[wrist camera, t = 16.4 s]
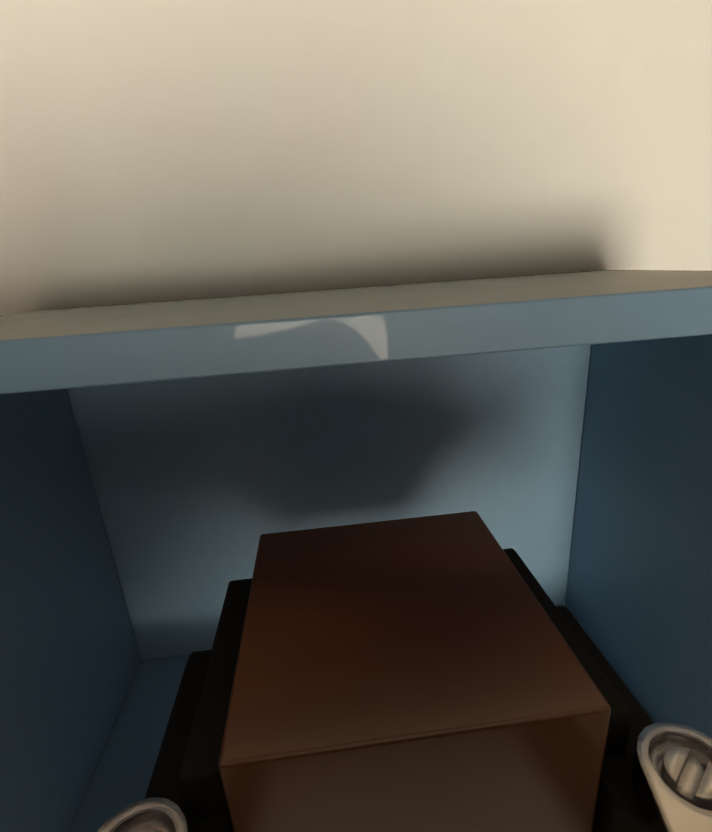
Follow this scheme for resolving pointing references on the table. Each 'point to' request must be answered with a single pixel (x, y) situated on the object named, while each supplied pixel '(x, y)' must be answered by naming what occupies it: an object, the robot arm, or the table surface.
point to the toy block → (406, 689)
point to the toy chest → (334, 485)
